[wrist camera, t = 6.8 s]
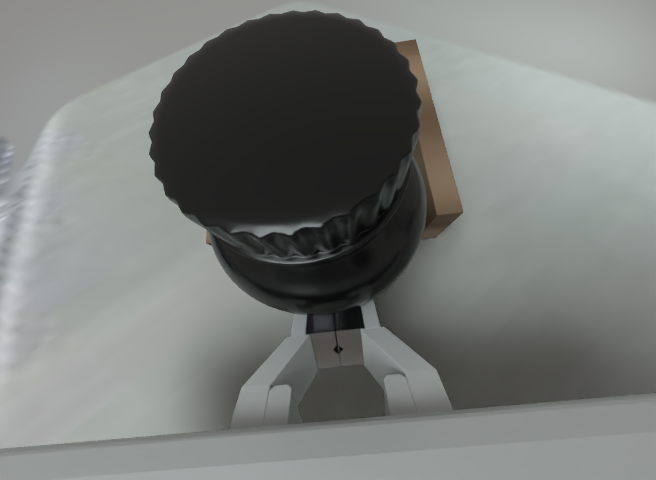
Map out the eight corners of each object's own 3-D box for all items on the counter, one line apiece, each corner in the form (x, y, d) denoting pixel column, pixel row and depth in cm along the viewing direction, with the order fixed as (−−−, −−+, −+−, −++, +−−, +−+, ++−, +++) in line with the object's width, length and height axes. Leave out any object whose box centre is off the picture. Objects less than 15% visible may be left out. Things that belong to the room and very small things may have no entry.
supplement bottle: (327, 189, 17) (278, -68, 6) (412, 250, 15) (590, 56, 4) (257, 267, 16) (18, 139, 4) (341, 342, 14) (297, 449, 3)
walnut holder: (435, 237, 15) (463, 212, 12) (240, 259, 16) (206, 243, 12) (402, 95, 19) (415, 39, 15) (241, 119, 19) (214, 71, 16)
